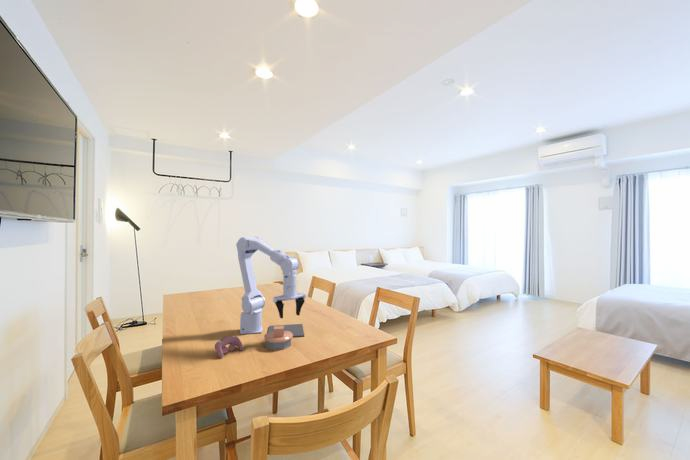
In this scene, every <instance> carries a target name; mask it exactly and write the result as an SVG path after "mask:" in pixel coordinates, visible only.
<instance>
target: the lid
mask: <svg viewBox="0 0 690 460" xmlns="http://www.w3.org/2000/svg"><path fill="white" fill-rule="evenodd" d="M276 325H277V326H274V325H273V326H274V331H272V332H269V333H268V332H267V333H266V334H264V336H263V337H264V340H265V342H266V341H267V342H270V343H282V342H286V341H289V340H291V341H292V339H293V338H294V337H293V334H292V332H290V331H285V330H284V325H285V324H276Z"/></svg>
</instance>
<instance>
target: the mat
mask: <svg viewBox="0 0 690 460" xmlns="http://www.w3.org/2000/svg"><path fill="white" fill-rule="evenodd" d="M277 325H278V324H276V325H274V324H273V325H268V332H267V333H269V332H272V331H274V326H277ZM283 325H284V330H285V331H290V332H292V334H293V338H302V337H303V338H304V337H305V333H304V327H303V326H304V325H303V323H294V324H283Z"/></svg>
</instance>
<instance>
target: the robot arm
mask: <svg viewBox="0 0 690 460" xmlns="http://www.w3.org/2000/svg"><path fill="white" fill-rule="evenodd" d="M236 250H237V257H238V259H237V260H238V263H239V264H238V265H239V268H240V272H241V279H242V283H243V287H244V294H243V295H242V297H241V309H242V311H243V312H241V313H240V322H239V324H240V325H239V329H240V330H239V331H240V332H239V334H241V335H244V334H245V335H246V334H247V335H248V334H259V333H263V328H264V326H263V325H262V316H263V315H262V314H263V313H262V311H264V307H265V305H266V300H265V297H264V296H263V293H262V292H261V291H260V290H258V287H257V281H256V277H255V273H254V267H253V264H252V256H253V255H254V254H255V253H256V252H257V251H259V252H262V253H263V254H265V255H267V256H268V257H269V258H270V261H272V262H273V263H275V264H276V265H278V266H279V267H280V270H281V271H282V276H283V277H282V278H283V279H282V281H283V284H282V287H283V288H282V289H283V290H282V292H283V293H282V294H281V295H277V296H273V297H272V302H273V303H274V304H275V306H276V308H277V311H278V315H279V318H280V319H284V306H285V303H284V301H292V300H295V306H296V307H295V315H296V316H297V317H298V316H300V314H301V310H302V307H303V305H304V303H305V302H306V301H305V299H306V298H307V294H306V293H305V292H303V293H301V292H300V293H297V284H298V283H297V282H298V281H297V276H298V274H297V273H298V271H297V270H298V269H299V268H300V260H299V259H298V258H297V257H296V256H293V257H291V256H290V254H286V253H284V252H283V250H282V249H277V248H276V249H274V248H272V247H271V246H269V245H268V244H267V243H265V242H264V241H263V240H262V238H260V237H258V236H254V237H253V236H252V237H251V236H250V237H240V238H239V239H238V240H237V241H236Z"/></svg>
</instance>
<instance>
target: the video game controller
mask: <svg viewBox="0 0 690 460" xmlns="http://www.w3.org/2000/svg"><path fill="white" fill-rule="evenodd" d="M227 346H228V347H227ZM236 347H237V348H238V349H239V350H240V351H244V345H243V343H242V341H241V339H240V338H239V337H237V335H229V336H225V337H223V338H221V339H219V340H218V341H217V342H215V344H214V349H215V350H216V353H217V356H218V357H219V358H220V359H223V358H224V354H226V353H228V351H230V352H233V351H235V349H236Z"/></svg>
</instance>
